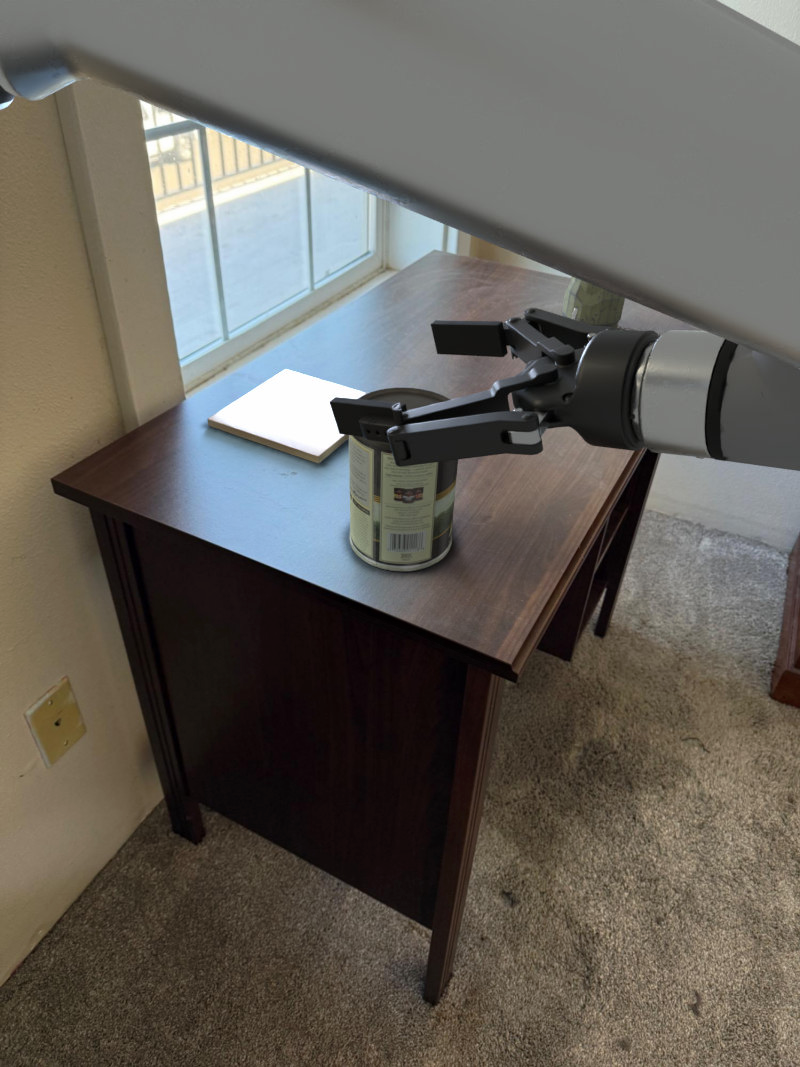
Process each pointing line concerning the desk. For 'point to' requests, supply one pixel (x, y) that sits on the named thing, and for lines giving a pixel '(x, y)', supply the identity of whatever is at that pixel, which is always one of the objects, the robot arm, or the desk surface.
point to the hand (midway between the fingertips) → (389, 373)
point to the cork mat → (288, 415)
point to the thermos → (592, 304)
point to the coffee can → (399, 497)
